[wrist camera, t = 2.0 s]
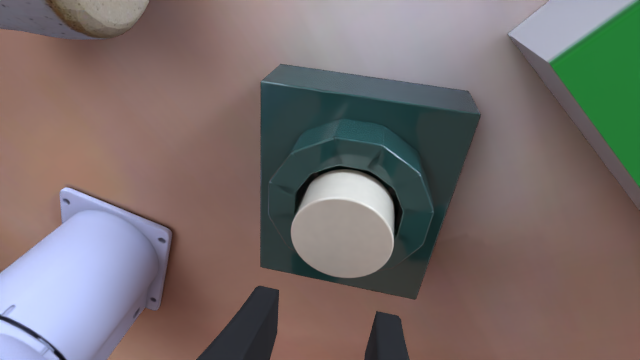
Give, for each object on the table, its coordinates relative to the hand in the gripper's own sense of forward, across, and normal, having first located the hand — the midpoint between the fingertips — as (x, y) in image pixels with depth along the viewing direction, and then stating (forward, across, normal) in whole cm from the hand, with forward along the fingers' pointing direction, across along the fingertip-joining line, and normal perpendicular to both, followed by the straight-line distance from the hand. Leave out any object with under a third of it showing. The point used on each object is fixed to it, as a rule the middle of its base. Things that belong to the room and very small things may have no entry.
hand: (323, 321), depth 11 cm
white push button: (+6, 0, 0) cm, 6 cm away
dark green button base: (+10, 0, +1) cm, 10 cm away
